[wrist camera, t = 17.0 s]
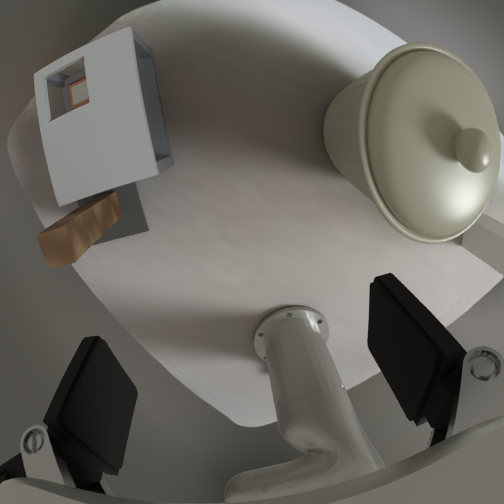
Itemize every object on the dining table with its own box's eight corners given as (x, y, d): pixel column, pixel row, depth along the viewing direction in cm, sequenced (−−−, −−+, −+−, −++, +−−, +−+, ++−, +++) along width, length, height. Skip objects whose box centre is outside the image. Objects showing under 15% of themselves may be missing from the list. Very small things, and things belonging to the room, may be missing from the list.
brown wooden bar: (122, 215, 34) (74, 262, 21) (101, 221, 34) (49, 268, 21) (116, 191, 32) (61, 227, 20) (94, 197, 32) (36, 235, 20)
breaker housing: (173, 164, 32) (157, 175, 24) (91, 189, 32) (58, 207, 24) (151, 48, 26) (129, 26, 18) (70, 81, 26) (33, 74, 18)
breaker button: (108, 102, 27) (94, 99, 23) (86, 110, 27) (71, 109, 23) (104, 79, 26) (90, 74, 22) (83, 89, 26) (67, 85, 22)
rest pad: (148, 229, 35) (147, 230, 35) (93, 243, 35) (92, 245, 35) (130, 164, 32) (129, 165, 31) (74, 184, 32) (73, 184, 31)
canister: (272, 103, 30) (339, 66, 11) (382, 54, 28) (495, 23, 9) (338, 221, 38) (429, 308, 18) (430, 164, 35) (539, 204, 16)
